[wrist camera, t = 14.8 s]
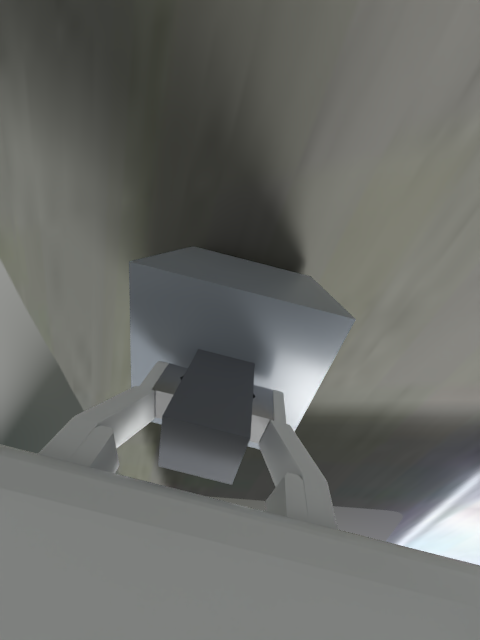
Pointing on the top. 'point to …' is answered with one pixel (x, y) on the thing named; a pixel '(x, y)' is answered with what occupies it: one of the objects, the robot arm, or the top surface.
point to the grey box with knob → (227, 348)
